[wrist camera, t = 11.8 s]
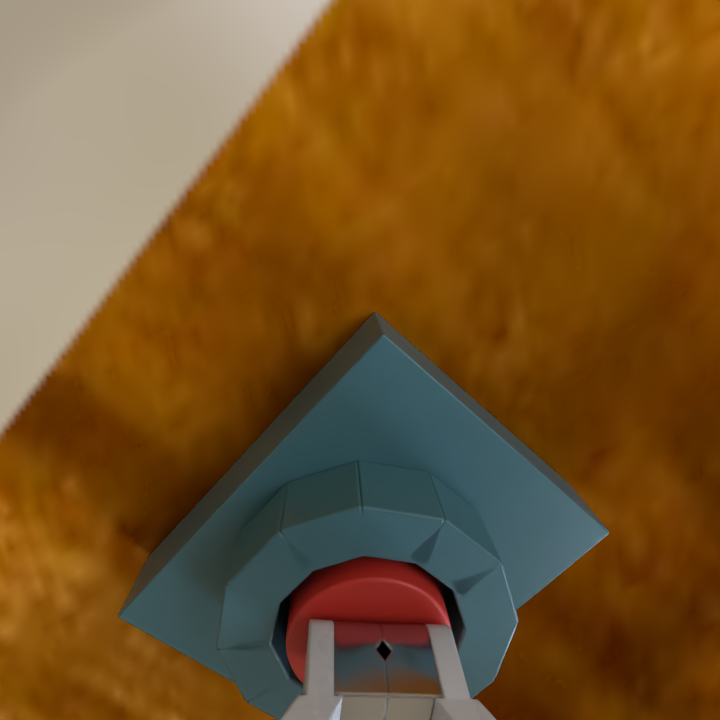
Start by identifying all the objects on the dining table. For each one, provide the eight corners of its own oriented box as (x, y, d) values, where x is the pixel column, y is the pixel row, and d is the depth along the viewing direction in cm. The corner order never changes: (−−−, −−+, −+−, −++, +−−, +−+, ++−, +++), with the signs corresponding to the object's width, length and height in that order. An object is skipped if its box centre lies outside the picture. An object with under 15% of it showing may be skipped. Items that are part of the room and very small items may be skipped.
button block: (347, 678, 16) (352, 823, 12) (148, 556, 14) (81, 684, 10) (570, 484, 14) (655, 587, 10) (374, 310, 12) (393, 360, 8)
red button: (368, 660, 13) (374, 729, 11) (262, 593, 12) (250, 657, 10) (465, 576, 12) (487, 636, 10) (359, 497, 11) (364, 549, 9)
